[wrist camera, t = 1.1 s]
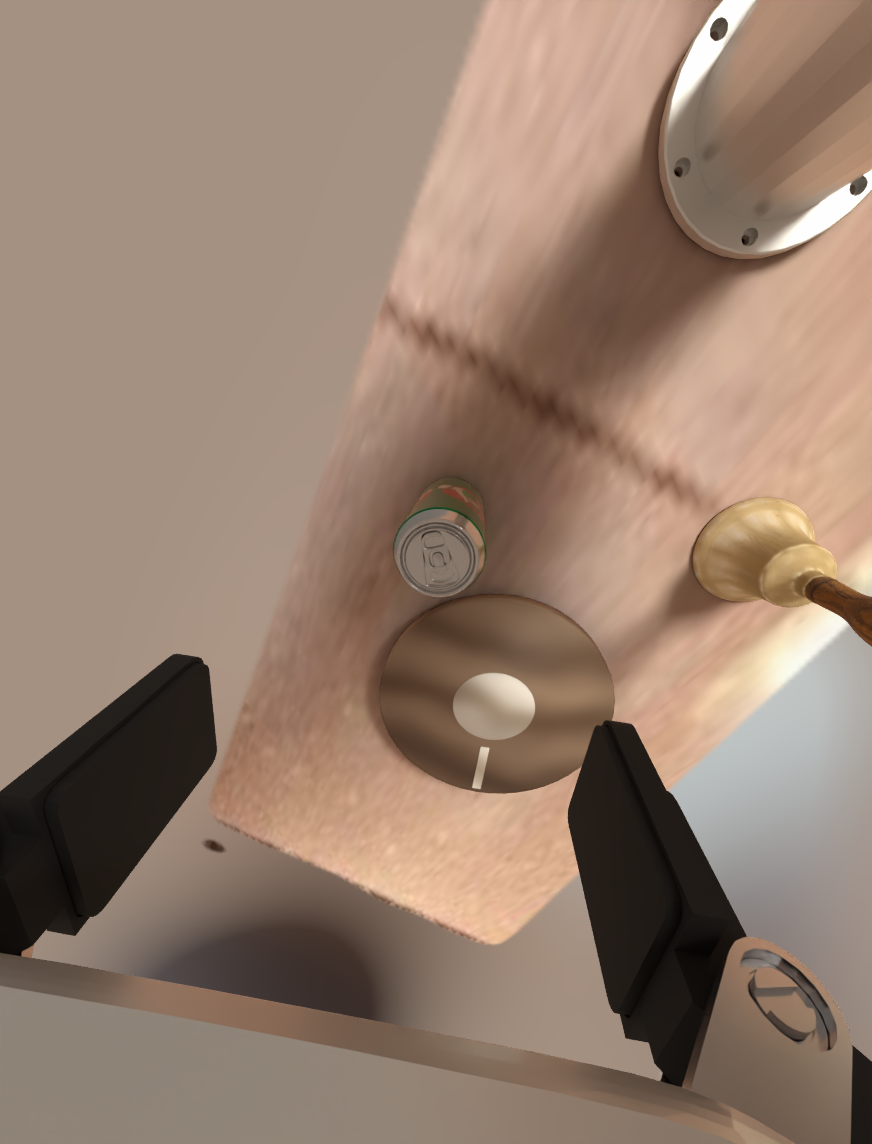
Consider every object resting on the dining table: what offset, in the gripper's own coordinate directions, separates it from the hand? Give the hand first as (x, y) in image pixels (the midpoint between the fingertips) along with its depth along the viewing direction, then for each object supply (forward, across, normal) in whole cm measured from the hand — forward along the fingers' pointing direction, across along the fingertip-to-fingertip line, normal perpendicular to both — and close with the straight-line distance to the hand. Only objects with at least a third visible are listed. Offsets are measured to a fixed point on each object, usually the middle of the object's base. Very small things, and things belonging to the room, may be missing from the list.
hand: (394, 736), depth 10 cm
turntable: (+23, -6, +16) cm, 29 cm away
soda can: (+25, 0, 0) cm, 25 cm away
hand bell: (+25, -23, 0) cm, 34 cm away
